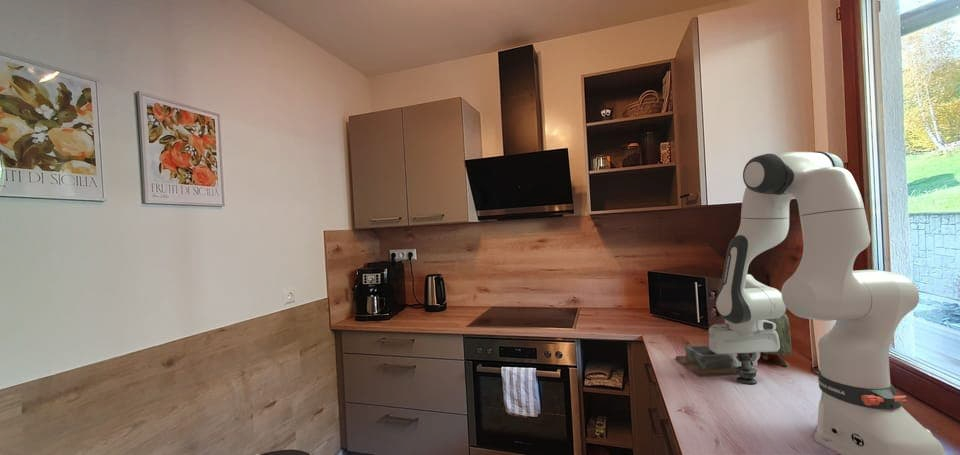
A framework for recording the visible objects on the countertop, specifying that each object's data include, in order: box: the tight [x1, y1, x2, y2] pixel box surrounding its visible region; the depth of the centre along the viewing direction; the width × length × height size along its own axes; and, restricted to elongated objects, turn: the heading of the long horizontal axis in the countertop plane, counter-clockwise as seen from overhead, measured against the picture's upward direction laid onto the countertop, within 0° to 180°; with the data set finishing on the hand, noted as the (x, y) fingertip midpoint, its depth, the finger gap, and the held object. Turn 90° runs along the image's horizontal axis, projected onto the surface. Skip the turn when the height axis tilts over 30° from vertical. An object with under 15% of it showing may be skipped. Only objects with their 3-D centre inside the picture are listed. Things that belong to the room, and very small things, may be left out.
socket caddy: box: [675, 344, 739, 377], centre depth 127 cm, size 16×16×6 cm
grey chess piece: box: [735, 353, 758, 385], centre depth 113 cm, size 6×6×12 cm
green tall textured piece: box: [762, 313, 793, 367], centre depth 128 cm, size 14×9×25 cm, turn 148°
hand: (745, 365), depth 113 cm, fingers closed on grey chess piece, 3 cm apart
